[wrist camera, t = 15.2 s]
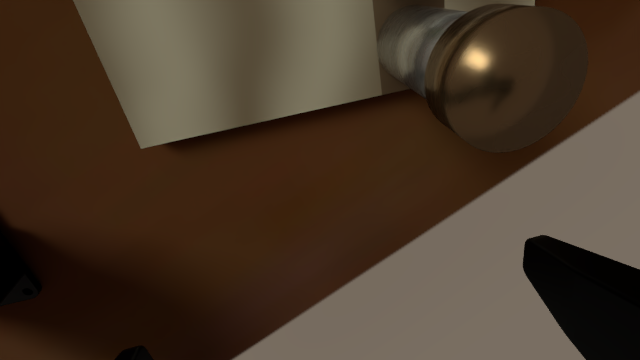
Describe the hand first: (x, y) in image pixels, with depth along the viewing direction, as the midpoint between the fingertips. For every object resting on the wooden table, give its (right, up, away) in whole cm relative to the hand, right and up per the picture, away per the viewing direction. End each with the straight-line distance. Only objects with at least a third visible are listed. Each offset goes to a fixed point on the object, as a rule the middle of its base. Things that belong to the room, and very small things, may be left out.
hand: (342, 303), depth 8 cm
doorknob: (+3, +9, +7) cm, 12 cm away
